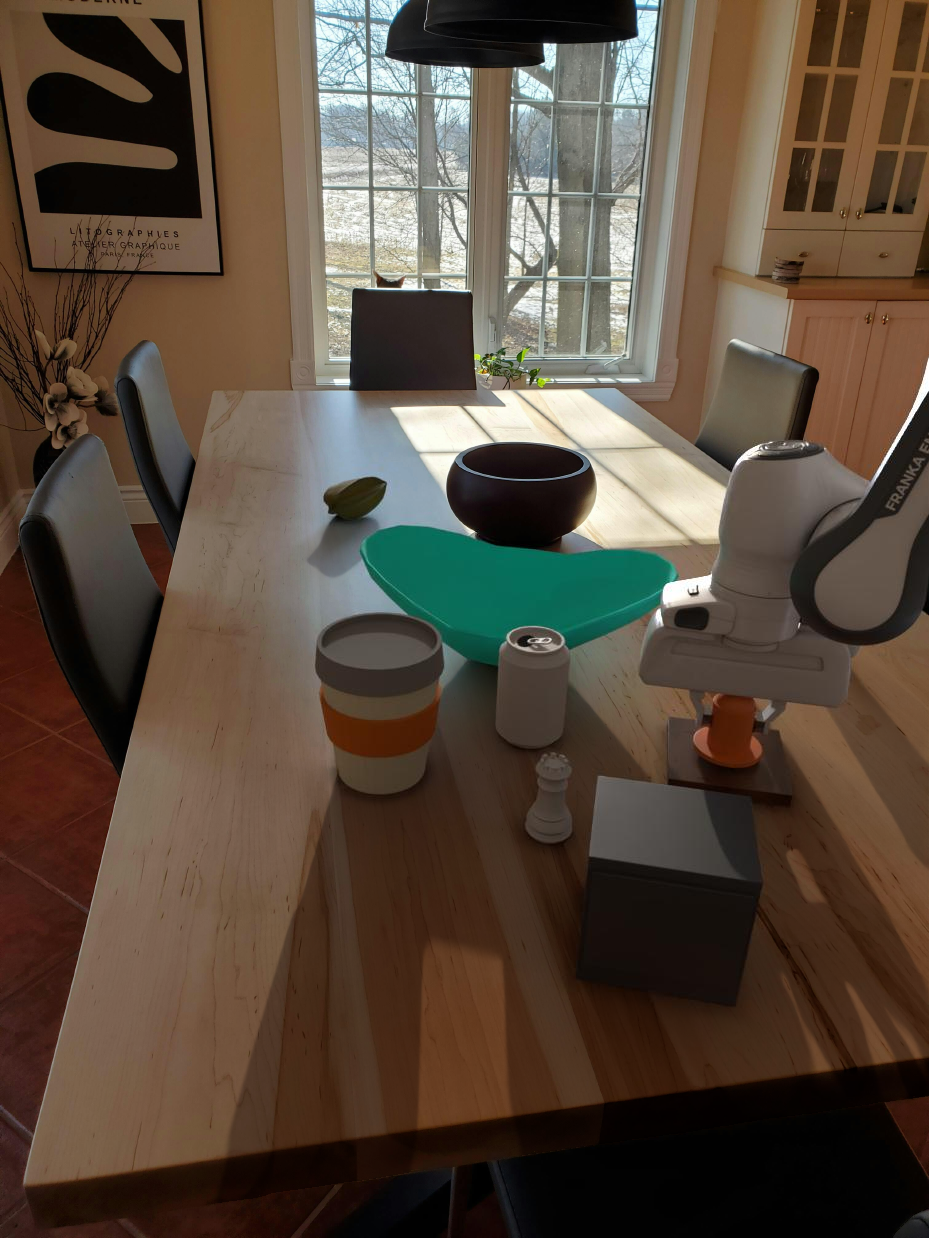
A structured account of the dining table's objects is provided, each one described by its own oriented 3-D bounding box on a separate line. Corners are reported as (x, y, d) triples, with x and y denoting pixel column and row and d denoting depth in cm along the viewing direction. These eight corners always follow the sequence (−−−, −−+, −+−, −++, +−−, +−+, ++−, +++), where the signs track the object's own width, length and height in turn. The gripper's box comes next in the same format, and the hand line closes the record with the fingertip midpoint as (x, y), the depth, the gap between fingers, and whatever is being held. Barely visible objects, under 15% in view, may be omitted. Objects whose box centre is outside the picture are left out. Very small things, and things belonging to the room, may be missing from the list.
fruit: (322, 505, 167) (320, 470, 164) (386, 503, 169) (386, 469, 166) (324, 526, 157) (323, 490, 154) (393, 524, 159) (393, 488, 156)
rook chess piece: (544, 852, 82) (550, 780, 78) (515, 825, 85) (519, 755, 82) (581, 835, 84) (589, 765, 81) (552, 810, 87) (558, 741, 84)
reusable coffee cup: (464, 783, 91) (468, 652, 84) (349, 820, 85) (344, 683, 79) (409, 723, 101) (409, 602, 94) (302, 753, 95) (294, 626, 88)
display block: (727, 911, 76) (751, 796, 71) (736, 1011, 67) (764, 887, 61) (585, 888, 78) (597, 774, 73) (574, 982, 69) (588, 860, 63)
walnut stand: (776, 741, 99) (779, 730, 99) (790, 807, 89) (793, 795, 88) (666, 727, 101) (668, 716, 101) (666, 790, 91) (668, 778, 90)
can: (507, 710, 104) (513, 616, 99) (570, 724, 101) (579, 629, 96) (485, 743, 98) (490, 645, 92) (551, 759, 95) (560, 660, 90)
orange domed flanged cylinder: (758, 734, 97) (770, 676, 94) (764, 772, 91) (777, 711, 87) (691, 726, 98) (701, 668, 95) (693, 762, 92) (704, 702, 89)
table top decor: (328, 679, 109) (323, 579, 103) (396, 590, 133) (396, 504, 127) (660, 729, 101) (675, 624, 95) (668, 624, 125) (681, 535, 119)
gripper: (859, 605, 88) (830, 724, 94) (648, 583, 91) (633, 699, 98) (873, 633, 83) (840, 758, 89) (647, 609, 86) (631, 731, 92)
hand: (730, 727), depth 93 cm, fingers closed on orange domed flanged cylinder, 4 cm apart
